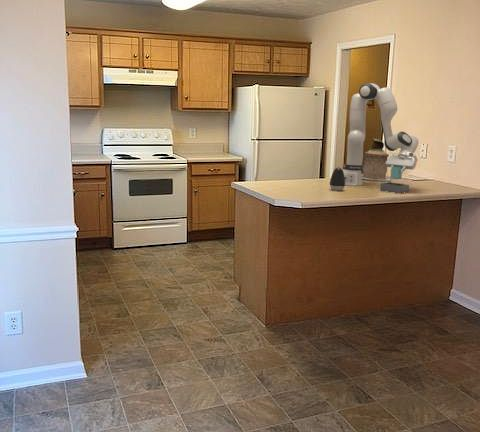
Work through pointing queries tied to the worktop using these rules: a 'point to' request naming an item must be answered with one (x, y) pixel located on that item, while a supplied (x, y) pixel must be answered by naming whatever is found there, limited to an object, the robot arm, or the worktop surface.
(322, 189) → the worktop surface
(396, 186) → the charcoal crate
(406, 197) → the worktop surface
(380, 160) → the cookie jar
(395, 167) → the teal crate
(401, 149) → the robot arm
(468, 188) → the worktop surface
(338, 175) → the black tapered dome
